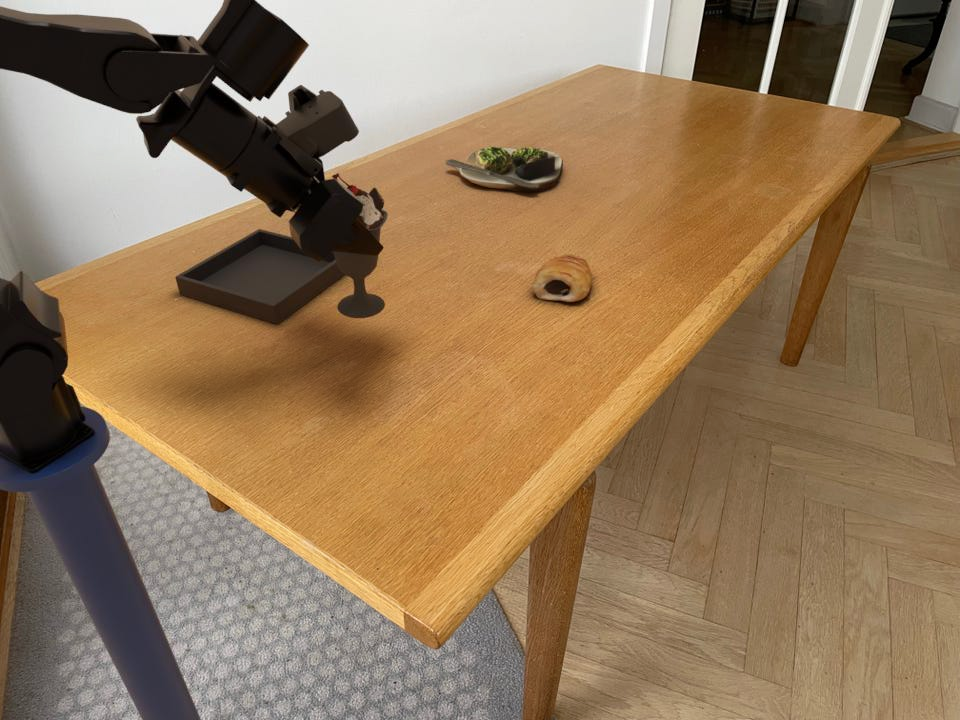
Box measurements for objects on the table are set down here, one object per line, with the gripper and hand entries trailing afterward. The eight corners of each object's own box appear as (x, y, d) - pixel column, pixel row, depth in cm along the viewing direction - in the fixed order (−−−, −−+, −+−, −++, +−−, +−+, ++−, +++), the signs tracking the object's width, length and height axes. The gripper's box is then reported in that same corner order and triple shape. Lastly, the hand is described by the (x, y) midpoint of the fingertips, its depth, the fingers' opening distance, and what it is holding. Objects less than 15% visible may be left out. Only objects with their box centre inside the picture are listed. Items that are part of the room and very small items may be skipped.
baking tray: (277, 324, 83) (273, 306, 82) (179, 294, 89) (174, 276, 87) (353, 268, 94) (351, 251, 93) (262, 245, 100) (259, 228, 99)
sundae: (326, 324, 73) (308, 181, 64) (332, 291, 78) (316, 155, 70) (392, 322, 73) (383, 180, 64) (393, 290, 79) (385, 154, 70)
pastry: (548, 264, 95) (551, 238, 93) (599, 273, 94) (602, 246, 91) (529, 299, 88) (531, 271, 86) (583, 309, 86) (587, 281, 84)
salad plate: (433, 189, 116) (432, 161, 114) (459, 152, 131) (459, 126, 128) (552, 200, 113) (554, 171, 110) (566, 160, 127) (568, 134, 125)
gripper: (326, 92, 53) (461, 208, 64) (265, 43, 67) (384, 145, 78) (236, 211, 55) (382, 304, 65) (195, 139, 68) (321, 226, 79)
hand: (368, 237), depth 72 cm, fingers closed on sundae, 6 cm apart
